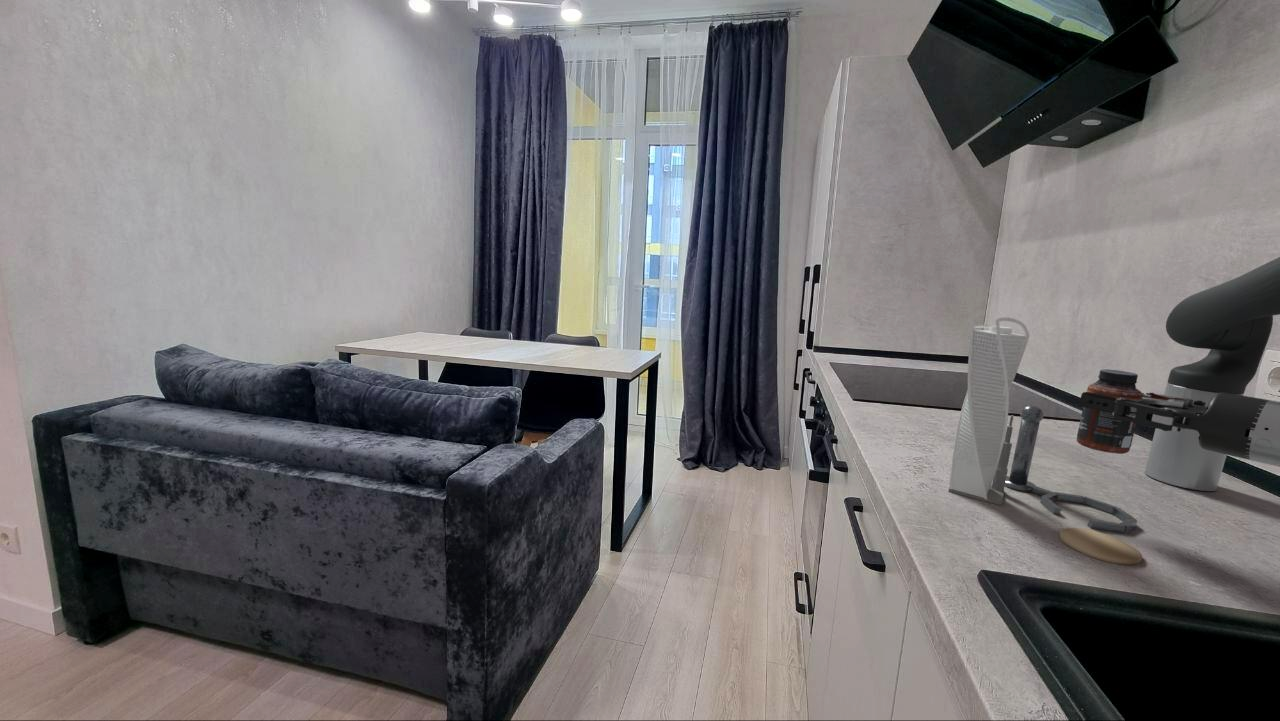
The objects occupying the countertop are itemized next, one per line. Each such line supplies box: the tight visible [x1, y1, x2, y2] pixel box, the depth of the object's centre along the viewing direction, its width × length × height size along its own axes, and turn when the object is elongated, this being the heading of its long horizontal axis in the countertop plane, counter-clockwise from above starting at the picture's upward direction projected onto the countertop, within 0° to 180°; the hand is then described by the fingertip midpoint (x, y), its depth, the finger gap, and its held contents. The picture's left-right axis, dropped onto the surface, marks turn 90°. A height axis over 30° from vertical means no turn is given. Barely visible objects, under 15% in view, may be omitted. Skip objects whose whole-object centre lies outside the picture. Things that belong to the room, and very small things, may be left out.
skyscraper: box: [948, 317, 1030, 506], centre depth 81 cm, size 8×8×28 cm
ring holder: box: [1004, 404, 1138, 534], centre depth 80 cm, size 10×18×14 cm, turn 31°
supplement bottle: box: [1076, 368, 1143, 455], centre depth 75 cm, size 6×6×11 cm
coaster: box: [1059, 527, 1143, 566], centre depth 68 cm, size 8×8×1 cm
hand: (1091, 396), depth 77 cm, fingers closed on supplement bottle, 6 cm apart
